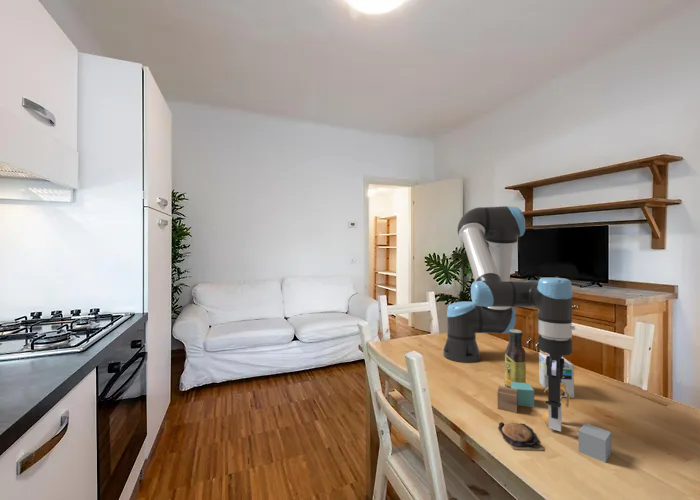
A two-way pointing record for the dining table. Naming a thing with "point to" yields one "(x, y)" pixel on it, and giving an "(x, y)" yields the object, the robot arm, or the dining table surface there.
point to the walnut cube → (507, 399)
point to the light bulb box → (567, 374)
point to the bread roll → (520, 437)
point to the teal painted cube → (524, 394)
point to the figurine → (562, 389)
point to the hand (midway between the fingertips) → (555, 423)
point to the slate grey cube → (595, 442)
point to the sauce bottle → (515, 359)
